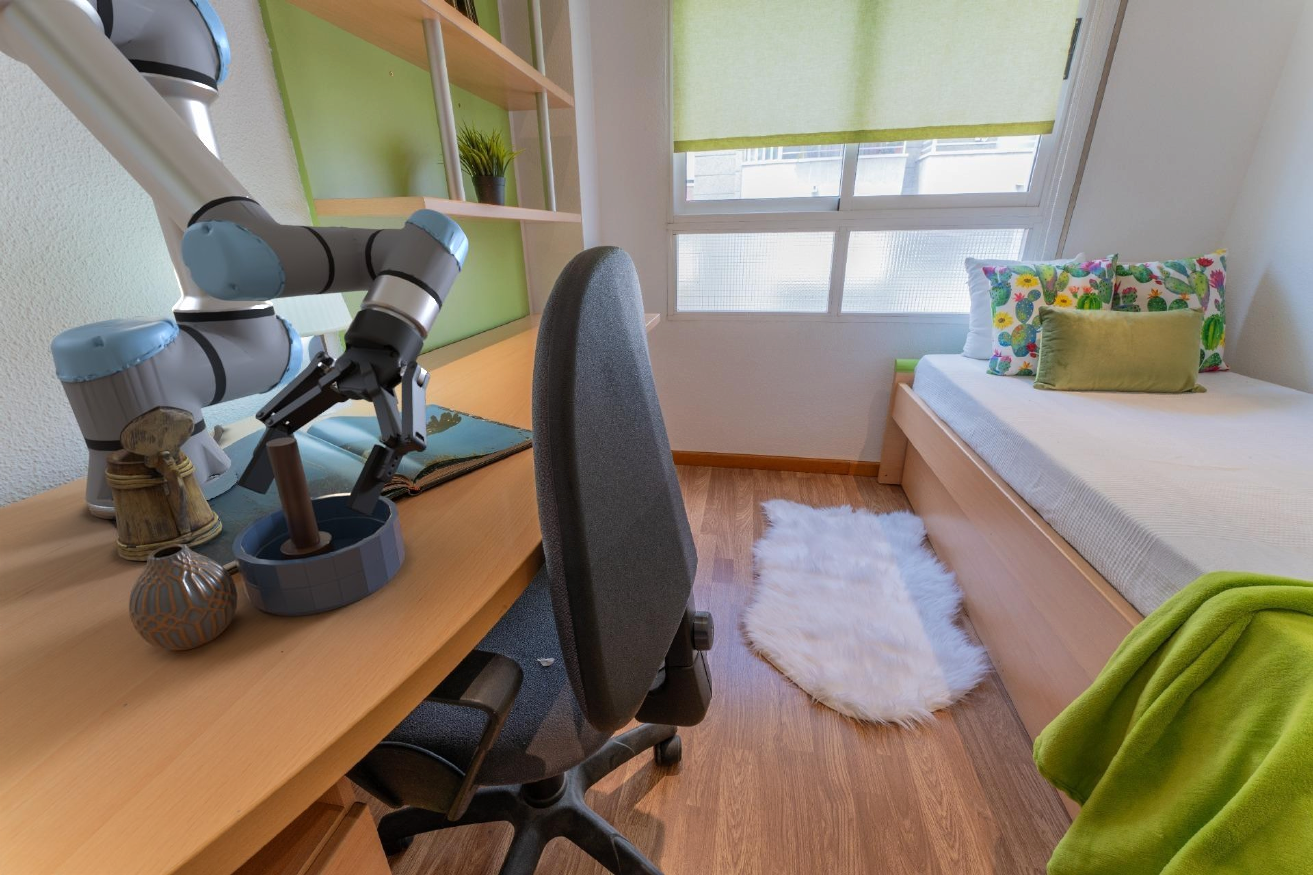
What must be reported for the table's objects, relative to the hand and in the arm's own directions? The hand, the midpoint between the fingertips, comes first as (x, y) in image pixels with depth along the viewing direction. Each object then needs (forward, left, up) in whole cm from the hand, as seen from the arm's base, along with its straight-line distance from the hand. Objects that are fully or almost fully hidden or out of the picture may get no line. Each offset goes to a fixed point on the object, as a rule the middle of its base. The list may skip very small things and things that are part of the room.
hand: (302, 500), depth 51 cm
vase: (+1, -10, -9) cm, 14 cm away
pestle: (0, 0, -9) cm, 9 cm away
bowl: (0, +1, -9) cm, 9 cm away
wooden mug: (-18, -9, -9) cm, 22 cm away
